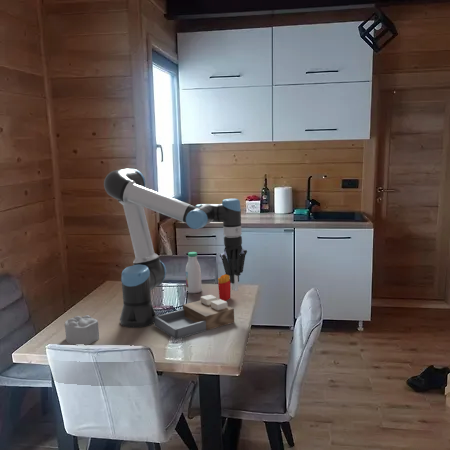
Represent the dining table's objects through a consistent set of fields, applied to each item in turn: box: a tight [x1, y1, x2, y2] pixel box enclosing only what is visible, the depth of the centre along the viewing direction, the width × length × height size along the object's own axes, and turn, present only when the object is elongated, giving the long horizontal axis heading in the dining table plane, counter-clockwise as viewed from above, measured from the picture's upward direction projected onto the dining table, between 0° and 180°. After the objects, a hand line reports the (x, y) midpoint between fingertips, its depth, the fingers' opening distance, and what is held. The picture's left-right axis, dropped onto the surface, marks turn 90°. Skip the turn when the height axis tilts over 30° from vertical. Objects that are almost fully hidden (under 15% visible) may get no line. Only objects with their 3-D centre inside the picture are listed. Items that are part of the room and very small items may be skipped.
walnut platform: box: [182, 299, 235, 331], centre depth 210 cm, size 14×18×6 cm
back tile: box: [200, 294, 218, 305], centre depth 214 cm, size 5×5×2 cm
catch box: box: [153, 308, 207, 340], centre depth 202 cm, size 14×18×4 cm
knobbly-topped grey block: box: [64, 314, 100, 346], centre depth 194 cm, size 10×13×9 cm
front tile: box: [211, 299, 228, 310], centre depth 208 cm, size 5×5×2 cm
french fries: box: [217, 273, 232, 302], centre depth 236 cm, size 8×4×12 cm, turn 148°
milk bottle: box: [185, 251, 203, 294], centre depth 249 cm, size 8×8×20 cm
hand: (235, 289), depth 211 cm, fingers closed
